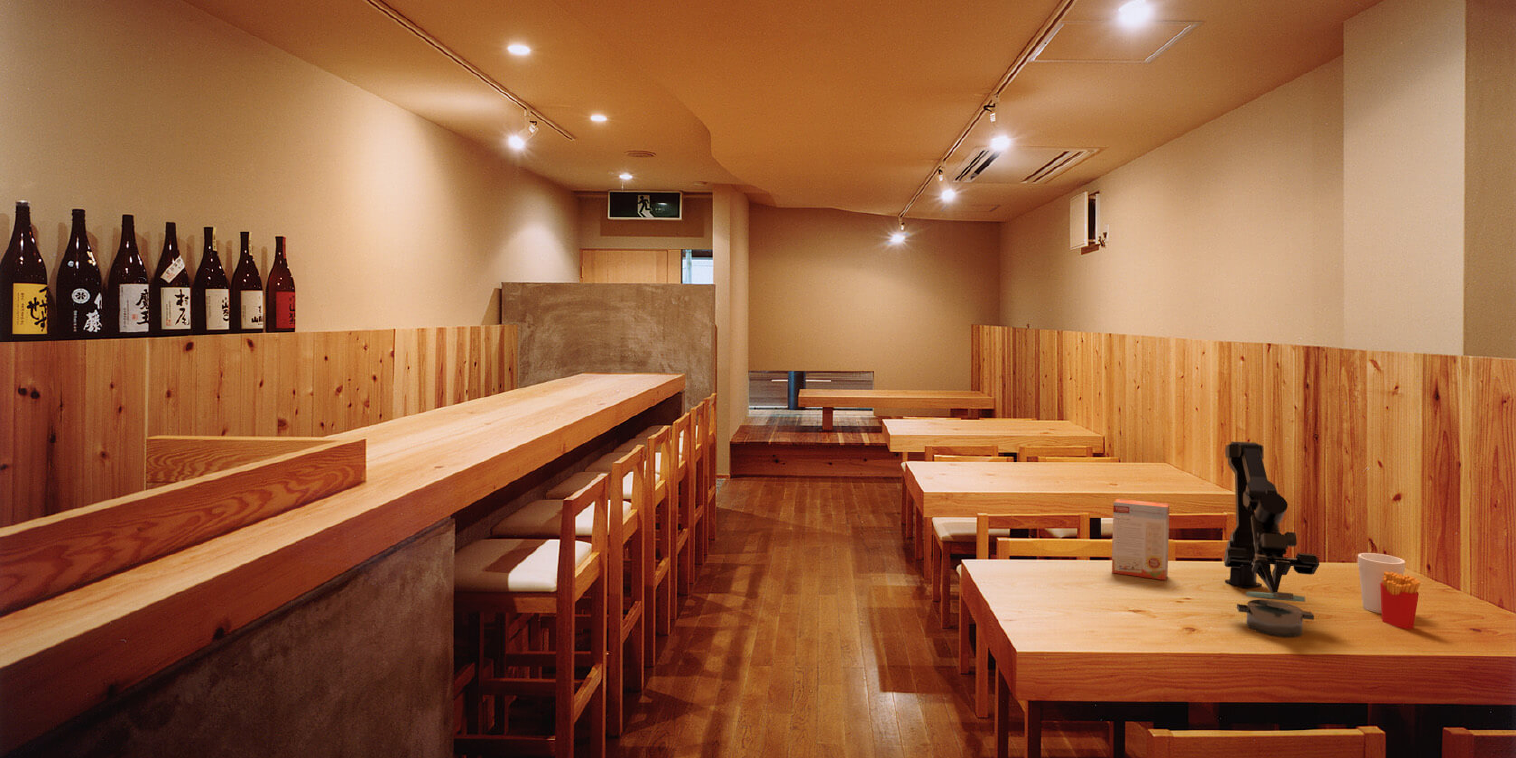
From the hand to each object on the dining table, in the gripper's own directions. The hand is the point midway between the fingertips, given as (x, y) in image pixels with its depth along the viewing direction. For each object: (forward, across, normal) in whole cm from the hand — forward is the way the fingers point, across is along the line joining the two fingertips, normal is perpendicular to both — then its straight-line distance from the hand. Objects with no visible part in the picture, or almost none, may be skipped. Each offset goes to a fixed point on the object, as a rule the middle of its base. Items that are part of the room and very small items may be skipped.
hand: (1274, 593), depth 189 cm
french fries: (-2, +28, +15) cm, 32 cm away
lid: (+2, 0, -1) cm, 2 cm away
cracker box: (-16, -26, +31) cm, 44 cm away
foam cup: (-9, +28, +23) cm, 37 cm away
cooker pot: (+6, 0, +5) cm, 8 cm away
